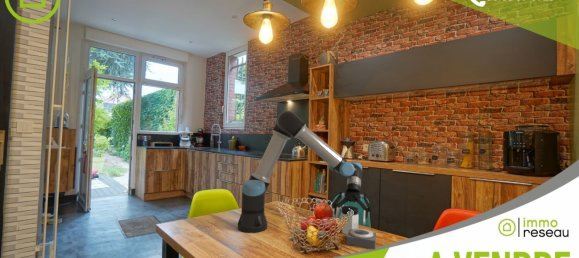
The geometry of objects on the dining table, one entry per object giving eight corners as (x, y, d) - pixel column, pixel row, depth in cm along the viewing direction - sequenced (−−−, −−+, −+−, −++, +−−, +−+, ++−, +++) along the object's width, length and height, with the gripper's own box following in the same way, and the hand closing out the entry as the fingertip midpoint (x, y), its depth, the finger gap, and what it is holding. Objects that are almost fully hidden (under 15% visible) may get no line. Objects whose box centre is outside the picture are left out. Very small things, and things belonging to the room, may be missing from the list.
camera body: (346, 244, 118) (346, 234, 119) (349, 236, 129) (349, 227, 129) (375, 249, 114) (375, 238, 115) (375, 240, 125) (376, 230, 125)
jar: (348, 236, 129) (349, 210, 130) (337, 231, 136) (337, 207, 137) (361, 233, 134) (362, 208, 135) (349, 228, 141) (350, 205, 142)
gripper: (377, 192, 147) (376, 228, 133) (332, 188, 156) (326, 222, 141) (377, 184, 143) (376, 220, 128) (330, 180, 151) (324, 214, 136)
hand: (349, 221), depth 134 cm, fingers open, 13 cm apart
